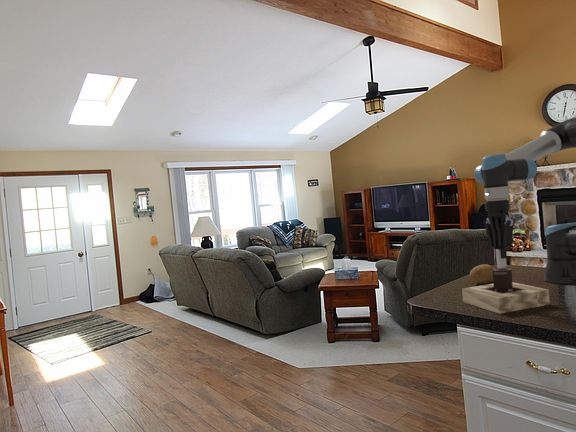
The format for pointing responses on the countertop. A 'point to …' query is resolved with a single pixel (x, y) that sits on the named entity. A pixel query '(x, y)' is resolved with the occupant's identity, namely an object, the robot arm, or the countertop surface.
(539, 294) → the square frame
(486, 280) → the potato
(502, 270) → the box
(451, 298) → the countertop surface
